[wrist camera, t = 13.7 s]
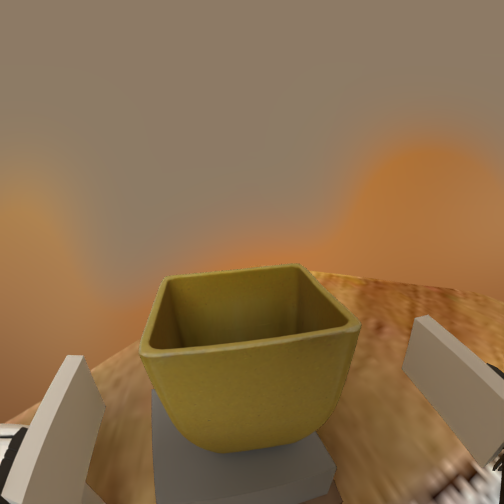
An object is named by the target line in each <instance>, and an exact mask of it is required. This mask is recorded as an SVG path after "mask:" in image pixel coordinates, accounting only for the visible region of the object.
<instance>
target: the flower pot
mask: <svg viewBox="0 0 504 504" xmlns="http://www.w3.org/2000/svg"><path fill="white" fill-rule="evenodd" d="M361 325H362V324H361V322H360V321H359V320H358V319H357V318H356V317H355V316H354V314H352V313H351V312H350V311H349V310H348V309H347V308H346V307H345V306H344V305H343V304H341V303H340V302H339V301H338V300H337V299H336V298H335V297H334V296H333V295H332V294H330V293H329V292H328V291H327V290H326V289H325V288H324V287H323V286H322V285H321V284H320V283H319V282H318V281H317V280H316V278H315V277H314V276H313V275H312V274H311V273H310V272H309V271H308V270H307V269H306V268H305V267H304V266H302V265H300V264H283V265H274V266H264V267H255V268H246V269H236V270H226V271H214V272H205V273H193V274H183V275H173V276H166V277H165V278H164V279H163V280H162V282H161V284H160V287H159V289H158V292H157V295H156V298H155V301H154V303H153V306H152V310H151V312H150V315H149V318H148V321H147V324H146V326H145V329H144V332H143V335H142V337H141V341H140V346H139V356H140V358H141V360H142V362H143V365H144V367H145V369H146V372H147V374H148V376H149V378H150V380H151V382H152V384H153V387H154V389H155V391H156V393H157V395H158V397H159V399H160V401H161V403H162V404H163V406H164V408H165V410H166V412H167V414H168V416H169V418H170V419H171V421H172V423H173V424H174V426H175V427H176V429H177V430H178V431H179V432H180V433H181V434H182V435H183V436H184V437H185V438H186V439H187V440H188V441H190V442H191V443H193V444H195V445H196V446H198V447H200V448H202V449H205V450H208V451H211V452H215V453H222V454H224V453H233V452H241V451H249V450H255V449H262V448H268V447H275V446H280V445H285V444H291V443H295V442H297V441H299V440H301V439H303V438H305V437H307V436H309V435H310V434H312V433H313V432H315V431H316V430H317V429H318V428H320V427H321V426H322V425H323V424H324V423H325V422H326V421H327V419H328V418H329V417H330V415H331V414H332V412H333V411H334V409H335V407H336V405H337V403H338V401H339V398H340V396H341V393H342V390H343V387H344V384H345V381H346V378H347V374H348V371H349V368H350V365H351V361H352V358H353V354H354V351H355V347H356V344H357V340H358V336H359V333H360V329H361Z"/></svg>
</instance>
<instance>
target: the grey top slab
mask: <svg viewBox="0 0 504 504" xmlns="http://www.w3.org/2000/svg"><path fill="white" fill-rule="evenodd" d="M152 447H153V467H154V482H155V494H156V504H298V503H302V502H305V501H308V500H311V499H314V498H317V497H320V496H322V495H325V494H327V493H328V491H329V488H330V485H331V483H332V480H333V477H334V474H335V471H336V469H337V466H336V465H335V463H334V461H333V460H332V458H331V456H330V455H329V453H328V451H327V450H326V448H325V446H324V445H323V443H322V441H321V439H320V438H319V436H318V434H317V433H316V431H315V432H313V433H312V434H310V435H309V436H307V437H305V438H303V439H301V440H299V441H297V442H295V443H291V444H285V445H280V446H275V447H268V448H262V449H255V450H249V451H241V452H233V453H224V454H222V453H215V452H211V451H208V450H205V449H202V448H200V447H198V446H196V445H195V444H193V443H191V442H190V441H188V440H187V439H186V438H185V437H184V436H183V435H182V434H181V433H180V432H179V431H178V430H177V429H176V427H175V426H174V424H173V423H172V421H171V419H170V418H169V416H168V414H167V412H166V410H165V408H164V406H163V404H162V403H161V401H160V399H159V397H158V395H157V393H156V391H155V389H152Z"/></svg>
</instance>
